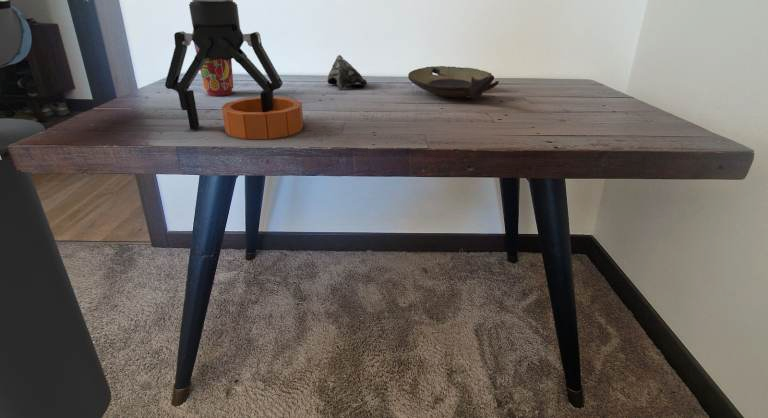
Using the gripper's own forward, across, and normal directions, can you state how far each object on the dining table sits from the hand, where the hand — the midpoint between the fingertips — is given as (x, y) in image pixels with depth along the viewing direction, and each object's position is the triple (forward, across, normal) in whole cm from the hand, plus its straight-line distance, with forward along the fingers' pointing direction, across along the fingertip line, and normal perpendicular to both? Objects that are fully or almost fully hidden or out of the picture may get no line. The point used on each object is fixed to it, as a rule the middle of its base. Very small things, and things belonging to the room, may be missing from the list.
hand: (231, 127), depth 81 cm
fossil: (0, -21, -42) cm, 47 cm away
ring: (0, -6, 0) cm, 6 cm away
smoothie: (0, +11, -32) cm, 33 cm away
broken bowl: (0, -47, -28) cm, 55 cm away
